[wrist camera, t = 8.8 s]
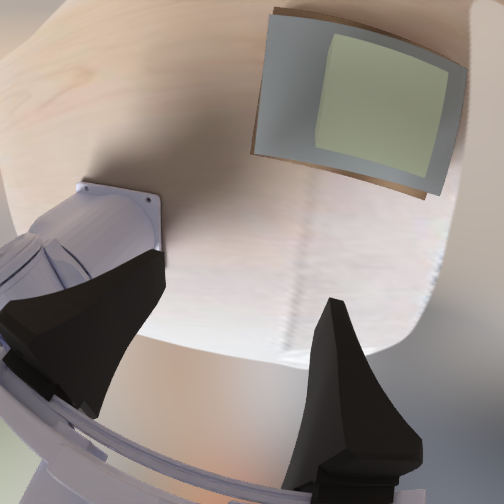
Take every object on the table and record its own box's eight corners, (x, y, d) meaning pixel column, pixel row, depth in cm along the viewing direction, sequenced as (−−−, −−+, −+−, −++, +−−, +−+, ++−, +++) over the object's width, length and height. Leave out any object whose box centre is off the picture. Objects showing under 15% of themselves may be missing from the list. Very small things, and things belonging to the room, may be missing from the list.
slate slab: (261, 145, 17) (254, 153, 15) (275, 24, 12) (269, 14, 10) (425, 182, 16) (439, 196, 13) (449, 70, 11) (467, 69, 9)
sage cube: (314, 131, 13) (315, 147, 10) (327, 51, 11) (334, 33, 7) (395, 153, 13) (424, 177, 9) (411, 76, 10) (448, 72, 7)
